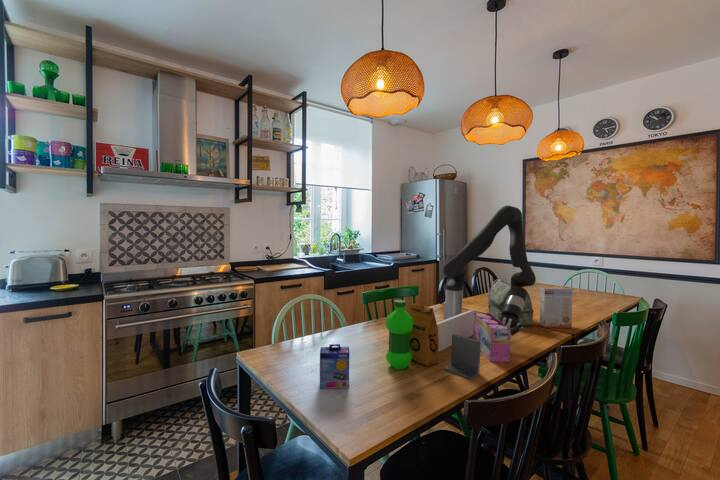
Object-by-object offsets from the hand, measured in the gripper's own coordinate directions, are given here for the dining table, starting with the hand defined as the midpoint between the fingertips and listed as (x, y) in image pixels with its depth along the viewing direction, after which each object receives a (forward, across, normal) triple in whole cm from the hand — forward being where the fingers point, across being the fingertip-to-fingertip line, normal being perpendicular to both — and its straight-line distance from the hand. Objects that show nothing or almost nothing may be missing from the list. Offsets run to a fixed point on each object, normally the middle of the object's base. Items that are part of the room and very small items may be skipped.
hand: (501, 341), depth 141 cm
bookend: (+24, -2, -18) cm, 31 cm away
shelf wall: (+7, -19, -1) cm, 21 cm away
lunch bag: (-32, -16, +39) cm, 53 cm away
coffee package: (+26, -18, -19) cm, 37 cm away
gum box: (+6, -4, +1) cm, 7 cm away
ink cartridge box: (+52, -28, -46) cm, 75 cm away
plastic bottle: (+34, -22, -27) cm, 48 cm away
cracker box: (-36, +6, +43) cm, 56 cm away
